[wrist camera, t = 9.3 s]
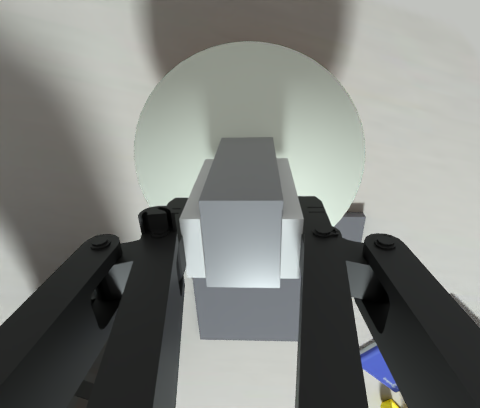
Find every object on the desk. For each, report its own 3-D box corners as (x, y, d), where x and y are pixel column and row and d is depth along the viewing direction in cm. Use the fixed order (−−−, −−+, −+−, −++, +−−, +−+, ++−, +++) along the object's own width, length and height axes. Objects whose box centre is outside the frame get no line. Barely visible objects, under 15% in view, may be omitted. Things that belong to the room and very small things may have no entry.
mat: (341, 336, 36) (343, 342, 35) (201, 333, 36) (200, 339, 36) (362, 212, 28) (365, 216, 27) (186, 213, 29) (184, 217, 28)
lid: (345, 255, 23) (393, 370, 15) (155, 253, 24) (104, 362, 16) (380, 37, 16) (497, 33, 8) (118, 44, 17) (-4, 48, 9)
